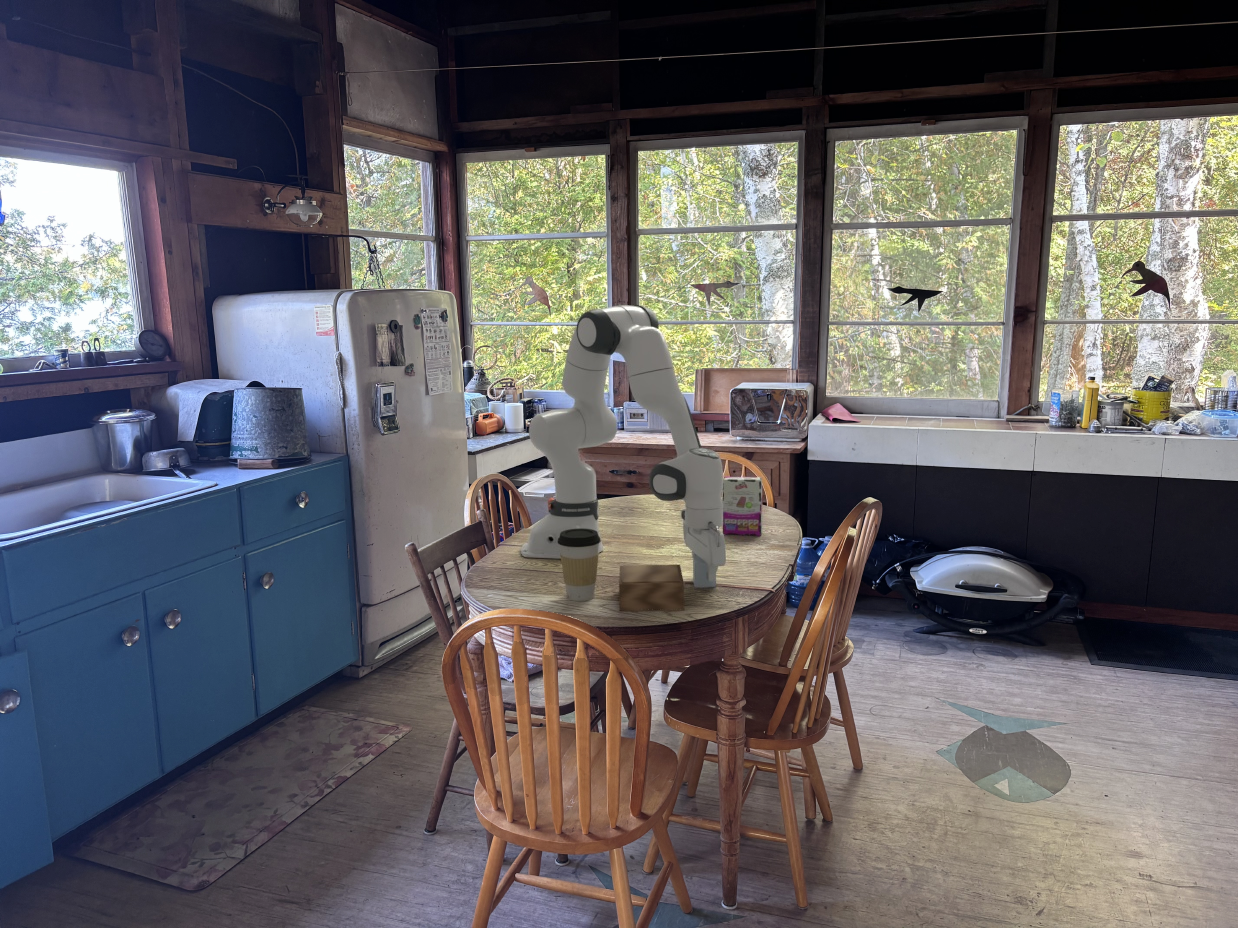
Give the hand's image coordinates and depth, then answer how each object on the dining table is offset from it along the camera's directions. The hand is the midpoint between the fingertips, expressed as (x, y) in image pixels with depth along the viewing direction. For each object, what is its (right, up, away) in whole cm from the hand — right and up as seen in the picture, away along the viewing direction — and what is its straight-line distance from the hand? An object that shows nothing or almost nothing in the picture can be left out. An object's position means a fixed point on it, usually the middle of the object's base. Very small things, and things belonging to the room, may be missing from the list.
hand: (704, 574), depth 204 cm
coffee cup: (-29, -4, -7) cm, 30 cm away
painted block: (0, -2, +1) cm, 2 cm away
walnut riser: (-13, -4, -10) cm, 17 cm away
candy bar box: (+15, +6, +46) cm, 49 cm away
